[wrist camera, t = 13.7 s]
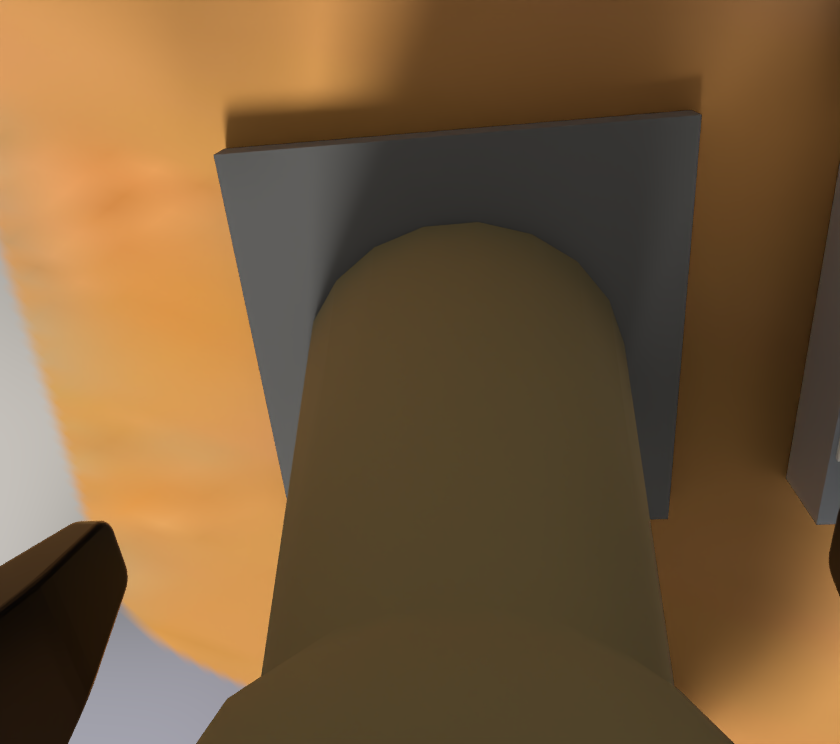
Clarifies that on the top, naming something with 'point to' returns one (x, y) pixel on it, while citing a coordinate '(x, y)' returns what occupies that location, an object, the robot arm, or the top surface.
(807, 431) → the grey slide rail tray
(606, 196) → the rubber pad
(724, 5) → the top surface
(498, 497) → the cork
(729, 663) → the top surface
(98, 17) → the top surface
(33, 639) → the robot arm
